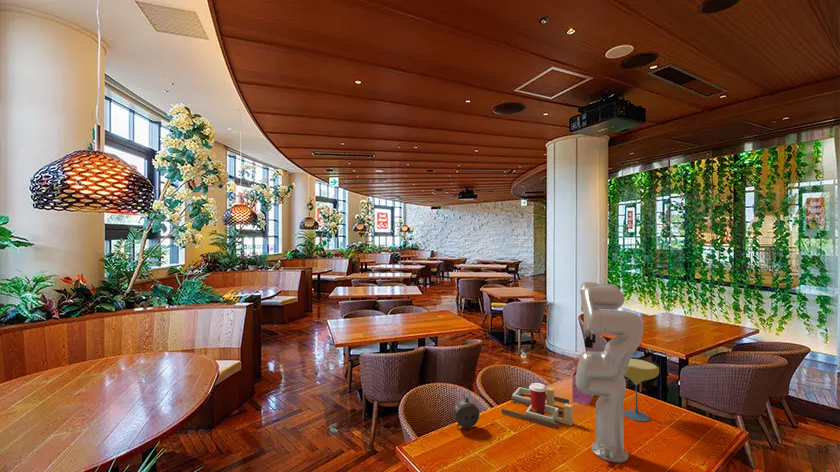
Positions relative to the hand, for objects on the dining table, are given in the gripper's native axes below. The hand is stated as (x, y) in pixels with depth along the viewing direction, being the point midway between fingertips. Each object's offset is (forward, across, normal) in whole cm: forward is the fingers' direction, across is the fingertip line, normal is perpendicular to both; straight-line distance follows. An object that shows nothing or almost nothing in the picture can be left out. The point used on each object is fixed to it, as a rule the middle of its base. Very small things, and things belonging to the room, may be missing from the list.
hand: (590, 344), depth 166 cm
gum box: (+34, +23, +6) cm, 41 cm away
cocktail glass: (+34, +12, -18) cm, 40 cm away
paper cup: (+34, -13, +21) cm, 42 cm away
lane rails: (+33, -6, +24) cm, 41 cm away
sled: (+33, -13, +15) cm, 39 cm away
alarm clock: (+34, -42, +44) cm, 69 cm away
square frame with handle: (+33, +1, +26) cm, 42 cm away
